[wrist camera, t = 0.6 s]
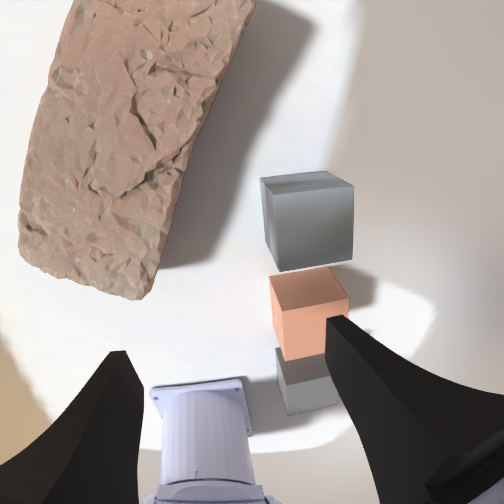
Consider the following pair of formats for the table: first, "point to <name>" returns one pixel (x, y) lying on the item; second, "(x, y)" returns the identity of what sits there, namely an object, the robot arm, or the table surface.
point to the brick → (121, 135)
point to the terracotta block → (305, 310)
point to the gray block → (305, 383)
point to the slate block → (307, 219)
